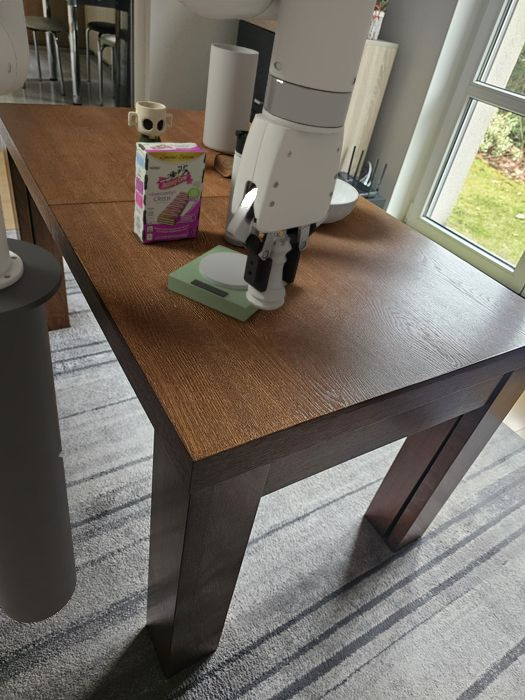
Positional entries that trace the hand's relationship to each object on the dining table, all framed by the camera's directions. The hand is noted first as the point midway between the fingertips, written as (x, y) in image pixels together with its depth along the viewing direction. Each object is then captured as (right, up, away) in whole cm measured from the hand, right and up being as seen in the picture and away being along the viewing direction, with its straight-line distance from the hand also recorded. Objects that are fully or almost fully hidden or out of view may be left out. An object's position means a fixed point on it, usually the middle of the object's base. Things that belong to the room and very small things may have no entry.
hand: (268, 280), depth 56 cm
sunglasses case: (-4, +38, +76) cm, 85 cm away
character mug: (-29, +40, +71) cm, 87 cm away
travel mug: (-5, +13, +42) cm, 45 cm away
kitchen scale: (-6, +3, +27) cm, 28 cm away
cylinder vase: (-12, +51, +91) cm, 105 cm away
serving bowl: (+9, +23, +58) cm, 63 cm away
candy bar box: (-19, +13, +39) cm, 45 cm away
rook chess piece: (-1, -2, +2) cm, 3 cm away
